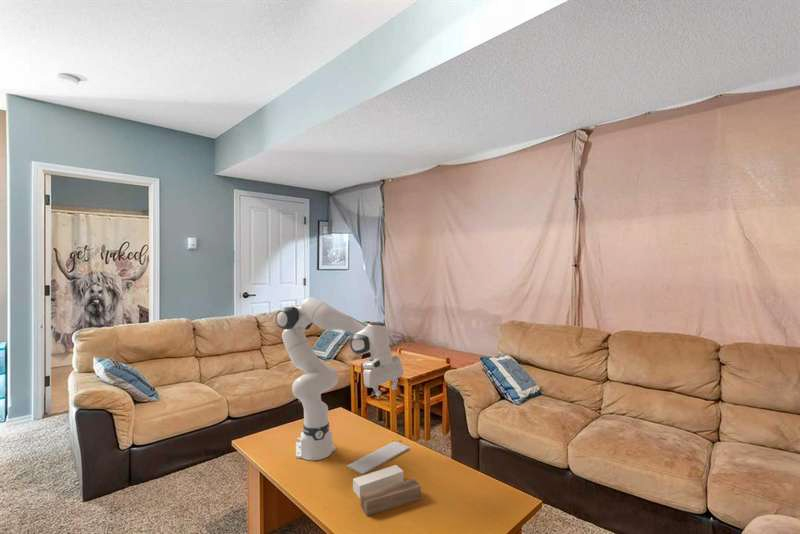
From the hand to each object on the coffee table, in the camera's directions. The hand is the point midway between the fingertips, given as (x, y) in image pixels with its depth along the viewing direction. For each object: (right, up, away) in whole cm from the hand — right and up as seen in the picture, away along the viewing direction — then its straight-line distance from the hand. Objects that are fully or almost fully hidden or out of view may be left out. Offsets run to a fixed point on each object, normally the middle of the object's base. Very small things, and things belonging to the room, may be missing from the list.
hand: (386, 392), depth 164 cm
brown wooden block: (+2, -35, -19) cm, 40 cm away
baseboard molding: (-5, -36, +16) cm, 39 cm away
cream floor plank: (-3, -36, -8) cm, 37 cm away
